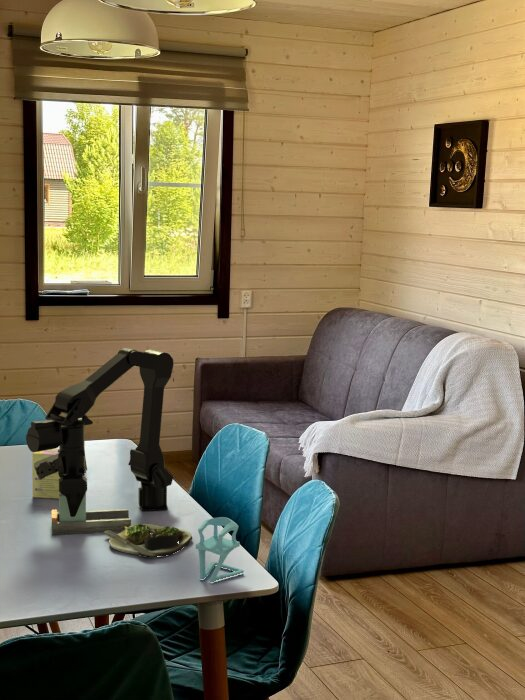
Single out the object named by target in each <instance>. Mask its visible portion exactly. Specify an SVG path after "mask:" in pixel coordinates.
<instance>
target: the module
mask: <svg viewBox="0 0 525 700" xmlns="http://www.w3.org/2000/svg"><path fill="white" fill-rule="evenodd" d="M86 495H87V492H86V493H85V495H84V497H83V500H82V502H81V504H80V507H79V509H78V511H77V514H76V516H75V517H71V516H70V512H69V508H68V503H67V499H66V497H65V496H64V495H63V494H61V493H60V492H59V499H58V513H59V522H70V521H86V511H87V496H86Z"/></svg>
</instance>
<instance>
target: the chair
mask: <svg viewBox="0 0 525 700" xmlns="http://www.w3.org/2000/svg"><path fill="white" fill-rule="evenodd" d="M209 525H210V526H213V535H212V536H211V537H209V538H207V539H205V536H204V534H203V532H204V530H205V529H206V528H207V527H208V526H209ZM218 527H223V529H222V530H221V531H220V532H219V531H218ZM238 530H239V525H238V524H237V523H236V522H235V521H234V520H232V519H230V518H229V517H225V516H220V517H219V516H218V517H213V518H212V517H211V518H208V519H206V520H204V521H203V522H202V524H201V525H200V526H199V527H198V529H197V532H198V534H199V538H200V540H199V542H198V543H195V549H197V550H198V559H199V578H200V579H204V578H205V577H207V575H208V574H209V573H210V572H211V570H212V569H213V567H214V566H215V565H217V566H216V567H214V569H213V570H212V572H211V573H210V574H211V575H210V574H209V575H210V578H209V581H210V582H214V581H216V580H219V579H223V578H226V577H230V576H234V575H237V574H240V573H243V572H245V571H244V569H241V568H238V567H235V566H230V565H228V564H224V562H225V560H226V558H227V557H228V556H229V554H230V553H231V552H232V551H233V550H234V549H236V548H238V547H240V546H241V543H240V541H237V539H236V535H237V532H238ZM231 531H233V532H232V534H231V539H229V538H224V537H225V536H226V534H228V533H230V532H231ZM206 552H210V553H213V554H215V555H218V556H219V559H218V562H216V561H213V562H211V563H210V564H209V565H208V567H206ZM221 567H223V568H227V569H230V570H233V571H235V572H231V571H230V572H227V573H224V574H220V575H218V573H219V572H220V570H221ZM207 578H208V577H207Z"/></svg>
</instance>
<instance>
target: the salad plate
mask: <svg viewBox="0 0 525 700" xmlns="http://www.w3.org/2000/svg"><path fill="white" fill-rule="evenodd" d="M124 528H125V530H124V531H120V532H119V533H116V532H113V531H111V530H107V531H105V532H103V533H104V534H105V536H106V537H108V538H109V540H108V544H109V545H110V546H111V548H112V549H114V550H116V551H119V552H121V553H126V554H129V553H131V554H130V555H134V554H136V555H135V556H138V555H141V556H140V557H143V556H146V557H145V558H148V557H157V556H166V555H170V556H172V555H171V554H173V553H175V552H177V551H179V550H180V551H182V550H183V549H184V548H183V547H185V546H186V547H188V545H189V544H190V543H191V542H192V540H193V535H192V533H191V532H190V531H188V530H186V529H184V528H183V529H182V528H177V527H175V526H168V525H167V526H164V525H163V526H162V525H156V524H152V523H151V524H150V523H138V522H137V523H135V524H134V525H131V526H130V527H128V528H127V527H126V526H125V527H124ZM150 533H153V534H150ZM178 541H179V544H178V543H177V542H178ZM186 547H185V548H186ZM182 548H183V549H182ZM181 549H182V550H181ZM180 551H179V552H180ZM177 553H178V552H177ZM175 554H176V553H175ZM173 555H174V554H173Z"/></svg>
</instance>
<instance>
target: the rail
mask: <svg viewBox="0 0 525 700" xmlns="http://www.w3.org/2000/svg"><path fill="white" fill-rule="evenodd" d="M129 512H130V511H129V509H128V508H126V509H125V508H124V509H104V510H103V509H101V510H100V509H99V510H86V521H70V522H59V512H58V509H51V535H52V536H60V535H61V536H62V535H79V534H80V535H81V534H95V533H98V534H99V533H104V532H105V531H107V530H111V531H113V532H114V533H116V532H117V533H118V532H119V533H120V532H123V531H124V530H125V528H124V527H125V526H126V527H127V528H128V527H130V526H132V518H130V515H129Z"/></svg>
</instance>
